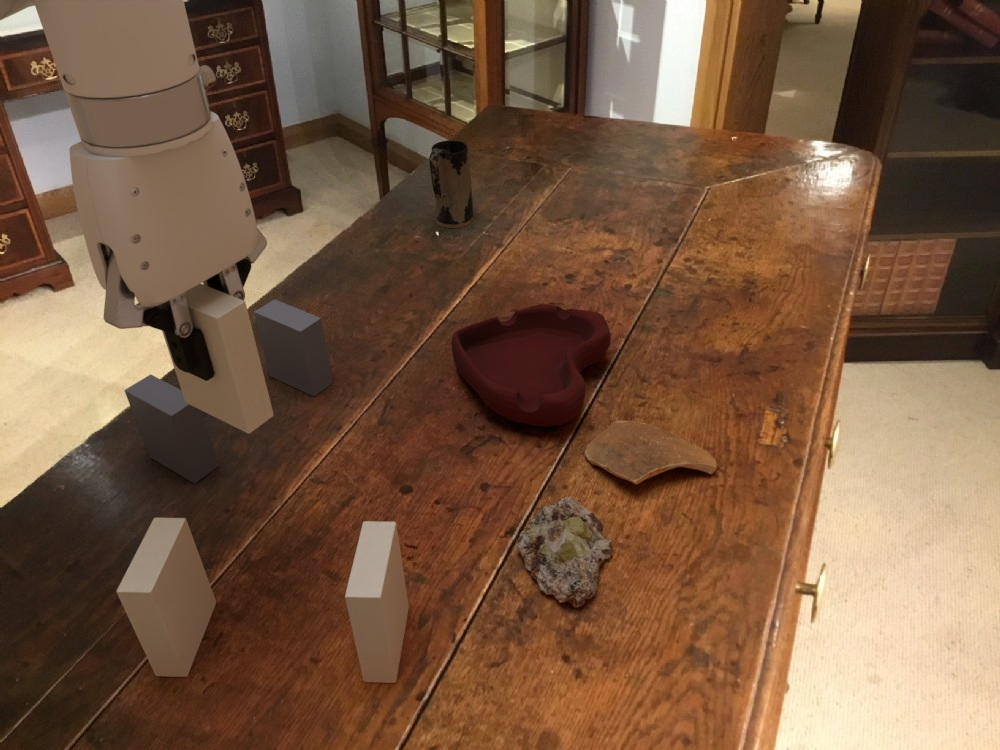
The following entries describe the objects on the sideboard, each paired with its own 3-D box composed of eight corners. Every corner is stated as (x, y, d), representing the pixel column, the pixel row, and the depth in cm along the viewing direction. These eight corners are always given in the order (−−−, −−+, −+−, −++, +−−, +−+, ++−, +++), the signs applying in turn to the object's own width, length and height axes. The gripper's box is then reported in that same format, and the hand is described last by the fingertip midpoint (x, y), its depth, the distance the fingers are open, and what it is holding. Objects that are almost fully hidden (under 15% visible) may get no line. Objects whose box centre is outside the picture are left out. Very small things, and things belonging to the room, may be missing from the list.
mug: (446, 208, 128) (440, 130, 120) (479, 213, 126) (475, 135, 119) (422, 231, 122) (414, 151, 115) (457, 237, 120) (451, 156, 113)
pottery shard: (721, 470, 81) (725, 450, 79) (656, 517, 76) (658, 497, 75) (639, 417, 87) (641, 398, 86) (574, 458, 83) (575, 438, 81)
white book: (185, 402, 65) (148, 289, 59) (210, 385, 66) (177, 273, 60) (249, 434, 61) (216, 318, 55) (274, 415, 63) (245, 300, 57)
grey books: (149, 457, 85) (123, 390, 80) (288, 362, 97) (274, 299, 92) (194, 484, 82) (171, 415, 76) (333, 382, 94) (321, 317, 89)
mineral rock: (507, 499, 75) (595, 476, 74) (521, 529, 78) (606, 508, 77) (516, 600, 67) (615, 576, 66) (532, 630, 70) (627, 608, 68)
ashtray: (482, 325, 102) (480, 289, 99) (616, 349, 97) (618, 312, 94) (421, 416, 89) (417, 378, 86) (573, 448, 84) (574, 409, 81)
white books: (155, 676, 65) (115, 591, 59) (187, 601, 70) (153, 517, 64) (396, 683, 64) (380, 597, 58) (409, 606, 69) (396, 521, 63)
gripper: (206, 62, 57) (261, 296, 68) (-24, 143, 47) (85, 404, 58) (286, 79, 54) (330, 323, 65) (56, 170, 43) (156, 443, 54)
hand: (214, 359), depth 61 cm, fingers closed on white book, 2 cm apart
